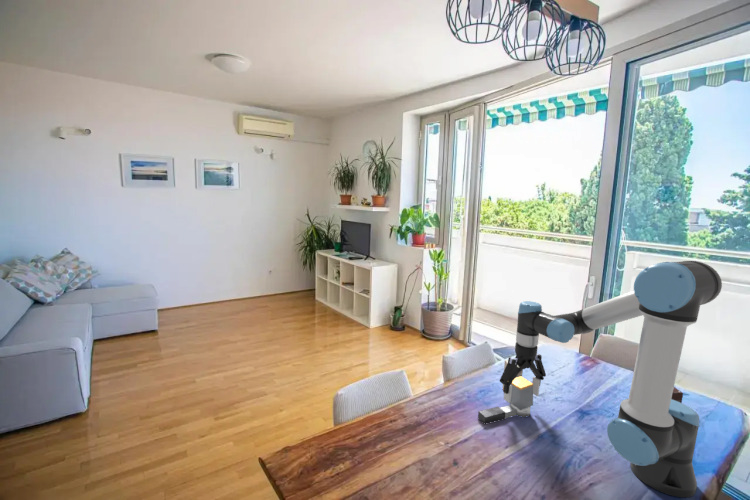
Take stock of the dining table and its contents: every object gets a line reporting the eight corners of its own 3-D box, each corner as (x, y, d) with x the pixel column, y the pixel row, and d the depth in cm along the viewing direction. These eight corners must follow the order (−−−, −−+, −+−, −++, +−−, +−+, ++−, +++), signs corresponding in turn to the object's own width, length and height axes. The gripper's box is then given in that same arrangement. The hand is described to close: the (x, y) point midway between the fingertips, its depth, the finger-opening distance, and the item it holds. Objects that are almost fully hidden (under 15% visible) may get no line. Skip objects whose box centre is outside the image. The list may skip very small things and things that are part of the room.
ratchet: (520, 404, 141) (521, 386, 140) (534, 414, 135) (536, 396, 134) (475, 415, 133) (476, 396, 132) (487, 427, 127) (489, 407, 126)
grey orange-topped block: (532, 405, 135) (533, 383, 133) (520, 410, 132) (520, 388, 131) (520, 396, 140) (520, 376, 138) (508, 401, 138) (508, 380, 136)
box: (670, 402, 147) (672, 385, 146) (681, 410, 141) (683, 393, 140) (654, 401, 148) (656, 384, 147) (664, 409, 142) (667, 392, 141)
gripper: (543, 336, 141) (538, 386, 144) (492, 343, 131) (487, 398, 135) (559, 343, 134) (553, 396, 137) (507, 352, 125) (502, 409, 128)
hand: (521, 397), depth 136 cm, fingers open, 13 cm apart
